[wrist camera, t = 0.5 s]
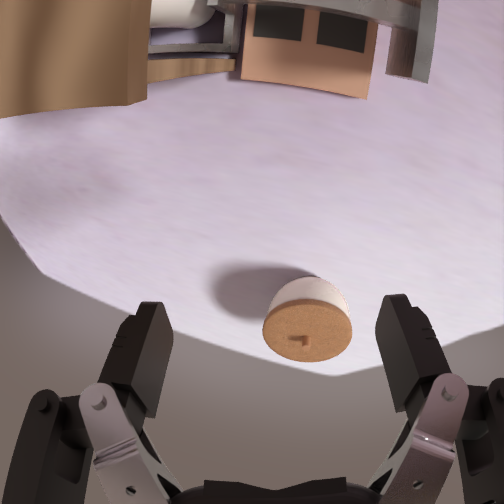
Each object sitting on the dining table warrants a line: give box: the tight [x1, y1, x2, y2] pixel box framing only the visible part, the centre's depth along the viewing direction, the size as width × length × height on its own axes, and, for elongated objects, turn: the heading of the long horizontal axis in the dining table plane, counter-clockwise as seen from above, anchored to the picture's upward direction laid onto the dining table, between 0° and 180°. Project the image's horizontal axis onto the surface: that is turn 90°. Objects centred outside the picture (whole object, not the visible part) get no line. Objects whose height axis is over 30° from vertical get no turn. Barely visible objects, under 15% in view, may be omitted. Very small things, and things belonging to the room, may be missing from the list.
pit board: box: [241, 4, 378, 100], centre depth 21 cm, size 12×16×2 cm
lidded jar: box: [262, 276, 352, 362], centre depth 37 cm, size 11×11×9 cm
